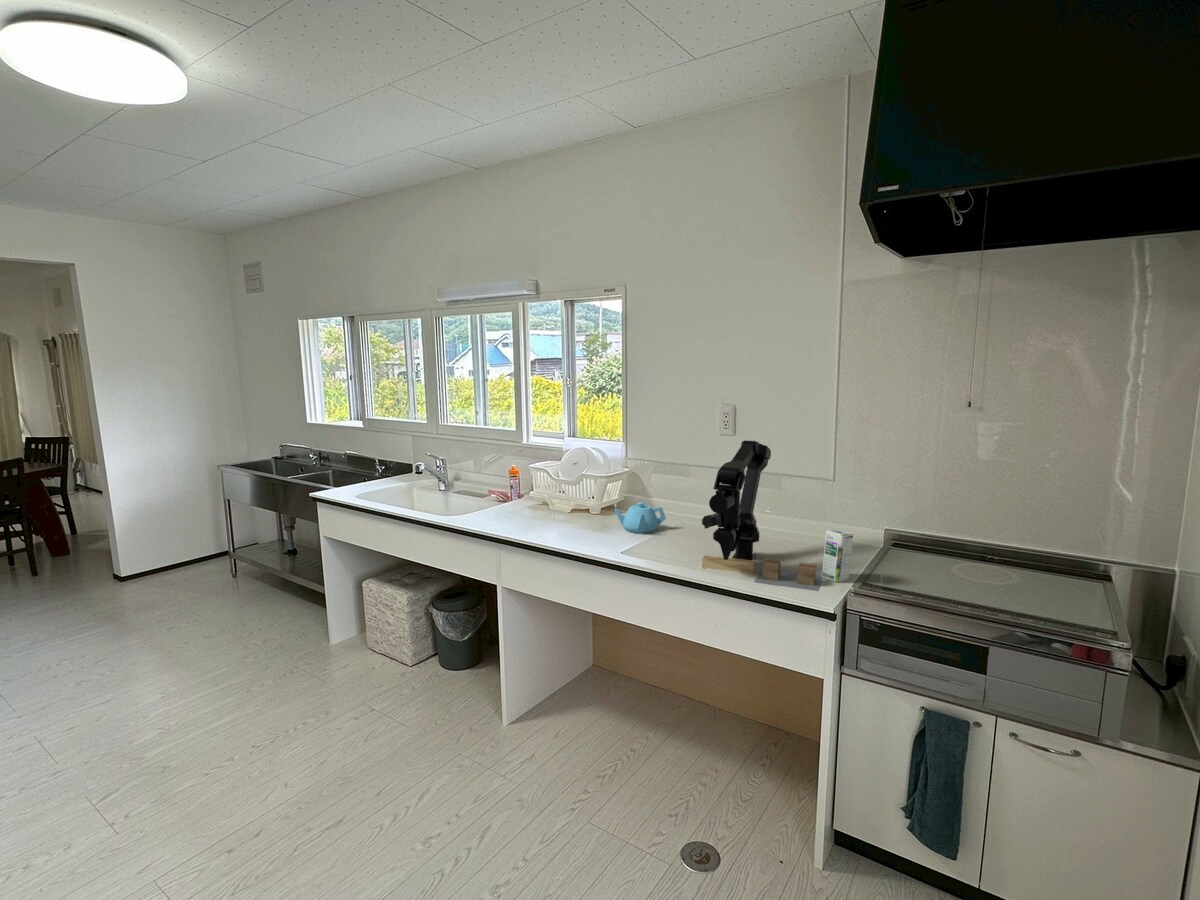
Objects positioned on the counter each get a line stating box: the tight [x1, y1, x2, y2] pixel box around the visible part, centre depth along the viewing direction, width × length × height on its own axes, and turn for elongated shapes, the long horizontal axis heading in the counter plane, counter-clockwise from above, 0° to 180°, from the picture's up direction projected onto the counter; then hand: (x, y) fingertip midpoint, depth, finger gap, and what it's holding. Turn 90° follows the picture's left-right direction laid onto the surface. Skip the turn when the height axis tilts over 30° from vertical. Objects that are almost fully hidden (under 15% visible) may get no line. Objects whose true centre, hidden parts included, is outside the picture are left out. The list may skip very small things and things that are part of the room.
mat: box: [754, 567, 823, 592], centre depth 183 cm, size 14×18×1 cm
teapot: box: [613, 501, 667, 534], centre depth 238 cm, size 15×15×11 cm
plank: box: [701, 554, 757, 575], centre depth 192 cm, size 4×16×4 cm, turn 67°
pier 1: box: [762, 558, 782, 581], centre depth 183 cm, size 4×4×5 cm
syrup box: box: [821, 528, 854, 583], centre depth 182 cm, size 6×6×14 cm
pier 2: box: [797, 562, 817, 586], centre depth 179 cm, size 4×4×5 cm
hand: (729, 555), depth 191 cm, fingers open, 9 cm apart
